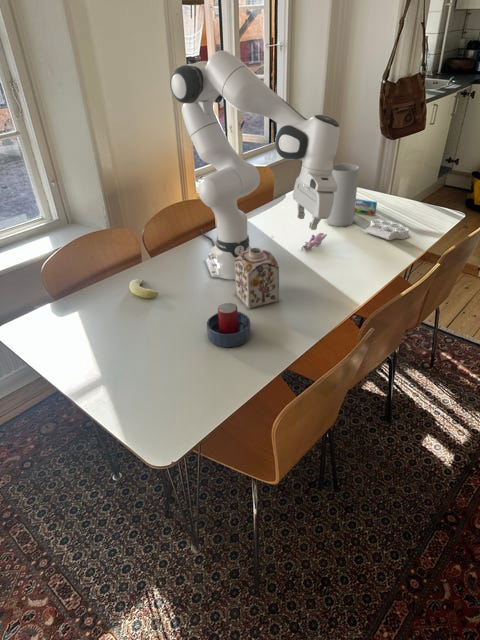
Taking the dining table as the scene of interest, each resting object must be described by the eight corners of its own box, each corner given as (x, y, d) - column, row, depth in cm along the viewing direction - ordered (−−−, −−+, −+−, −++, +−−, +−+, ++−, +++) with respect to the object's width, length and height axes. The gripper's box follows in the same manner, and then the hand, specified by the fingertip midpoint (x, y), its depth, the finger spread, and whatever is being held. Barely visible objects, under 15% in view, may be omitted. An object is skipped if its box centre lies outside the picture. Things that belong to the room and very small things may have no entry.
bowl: (202, 330, 144) (200, 317, 141) (240, 320, 148) (239, 306, 145) (217, 353, 134) (216, 339, 131) (257, 341, 138) (257, 327, 135)
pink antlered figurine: (310, 256, 188) (331, 239, 195) (309, 243, 184) (331, 226, 191) (298, 252, 191) (319, 235, 199) (297, 239, 188) (319, 223, 195)
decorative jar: (235, 294, 162) (232, 247, 152) (264, 286, 166) (264, 240, 156) (248, 310, 153) (247, 261, 143) (280, 301, 156) (280, 253, 147)
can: (217, 332, 142) (214, 305, 137) (234, 327, 144) (232, 301, 139) (224, 342, 137) (222, 315, 132) (241, 336, 139) (240, 310, 134)
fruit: (140, 304, 159) (139, 296, 157) (124, 286, 170) (123, 279, 168) (159, 298, 162) (158, 289, 160) (143, 281, 173) (141, 273, 171)
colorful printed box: (350, 211, 224) (351, 199, 221) (351, 210, 225) (352, 198, 222) (374, 215, 219) (376, 202, 215) (375, 214, 220) (377, 201, 216)
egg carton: (359, 232, 203) (379, 223, 210) (394, 244, 191) (414, 234, 199) (360, 225, 201) (380, 216, 208) (395, 236, 189) (415, 226, 197)
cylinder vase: (333, 215, 221) (337, 162, 207) (357, 220, 215) (363, 165, 201) (321, 223, 213) (324, 169, 199) (346, 229, 206) (351, 172, 193)
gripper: (292, 168, 140) (284, 212, 147) (319, 186, 123) (310, 235, 130) (311, 169, 142) (302, 212, 149) (340, 187, 125) (329, 235, 132)
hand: (306, 223), depth 139 cm, fingers open, 8 cm apart
